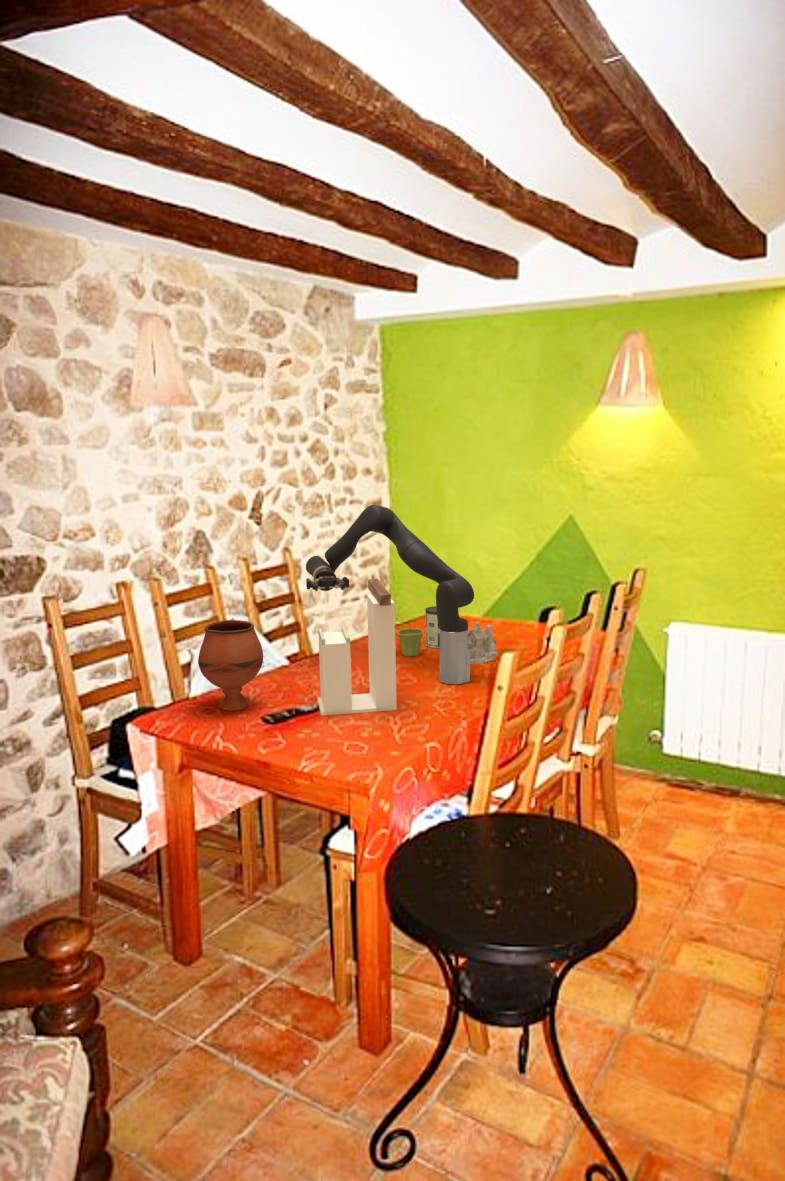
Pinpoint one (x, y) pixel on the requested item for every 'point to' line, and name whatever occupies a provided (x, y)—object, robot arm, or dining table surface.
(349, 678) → the stand
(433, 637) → the coffee can
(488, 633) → the ceramic cottage
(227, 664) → the goblet
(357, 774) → the dining table surface
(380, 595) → the walnut baton
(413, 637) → the plant pot
